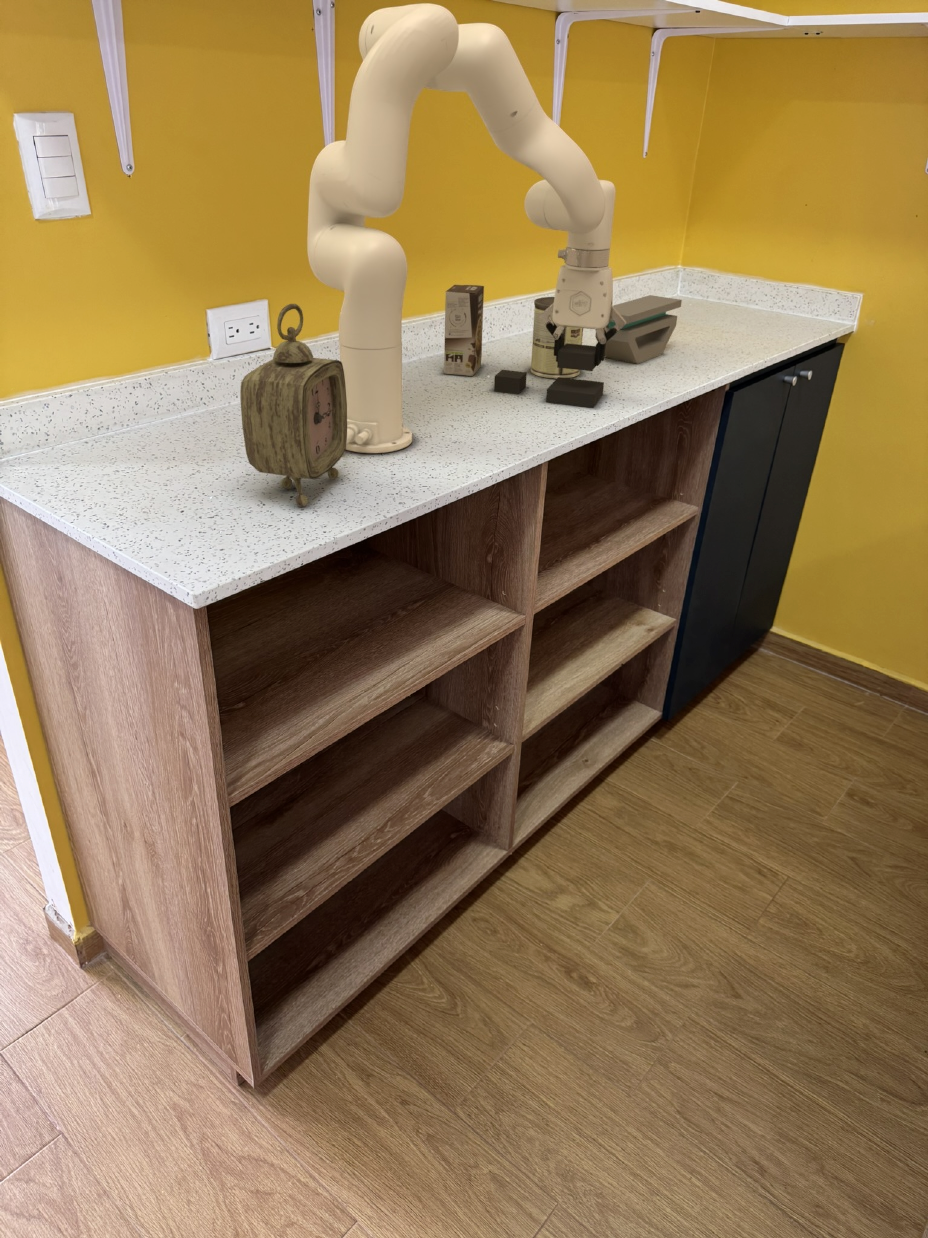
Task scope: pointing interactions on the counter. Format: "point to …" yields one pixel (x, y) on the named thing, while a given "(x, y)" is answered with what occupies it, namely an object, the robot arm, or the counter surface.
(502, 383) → the small pad
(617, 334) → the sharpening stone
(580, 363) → the medium pad
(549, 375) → the coffee can
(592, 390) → the large pad
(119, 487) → the counter surface
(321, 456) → the tabletop clock
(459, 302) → the coffee box
